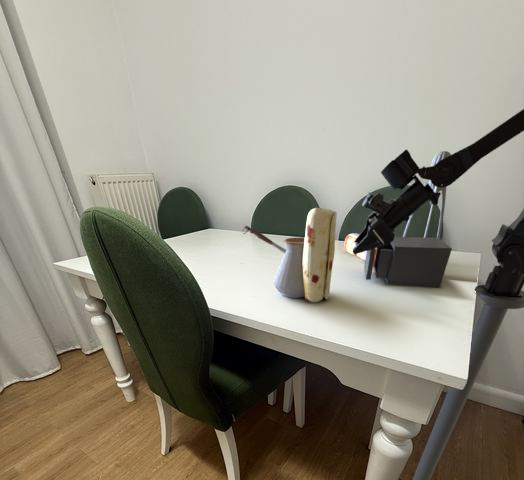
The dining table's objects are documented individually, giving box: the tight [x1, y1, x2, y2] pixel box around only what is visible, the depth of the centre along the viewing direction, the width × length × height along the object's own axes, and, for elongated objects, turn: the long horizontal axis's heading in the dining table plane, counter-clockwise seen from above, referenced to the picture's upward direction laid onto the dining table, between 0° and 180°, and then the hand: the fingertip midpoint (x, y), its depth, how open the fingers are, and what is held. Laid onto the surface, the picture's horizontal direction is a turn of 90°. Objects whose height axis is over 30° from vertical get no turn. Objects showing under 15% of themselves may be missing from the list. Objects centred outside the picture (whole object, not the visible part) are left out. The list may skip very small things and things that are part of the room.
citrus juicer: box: [402, 150, 452, 239], centre depth 86 cm, size 11×10×30 cm
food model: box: [302, 207, 338, 303], centre depth 65 cm, size 10×7×20 cm
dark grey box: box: [384, 236, 453, 289], centre depth 79 cm, size 13×13×10 cm
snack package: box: [343, 232, 377, 267], centre depth 98 cm, size 21×7×7 cm, turn 12°
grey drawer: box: [352, 242, 394, 280], centre depth 81 cm, size 16×12×8 cm
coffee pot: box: [242, 225, 305, 299], centre depth 73 cm, size 21×12×15 cm, turn 56°
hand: (353, 248), depth 81 cm, fingers open, 9 cm apart
